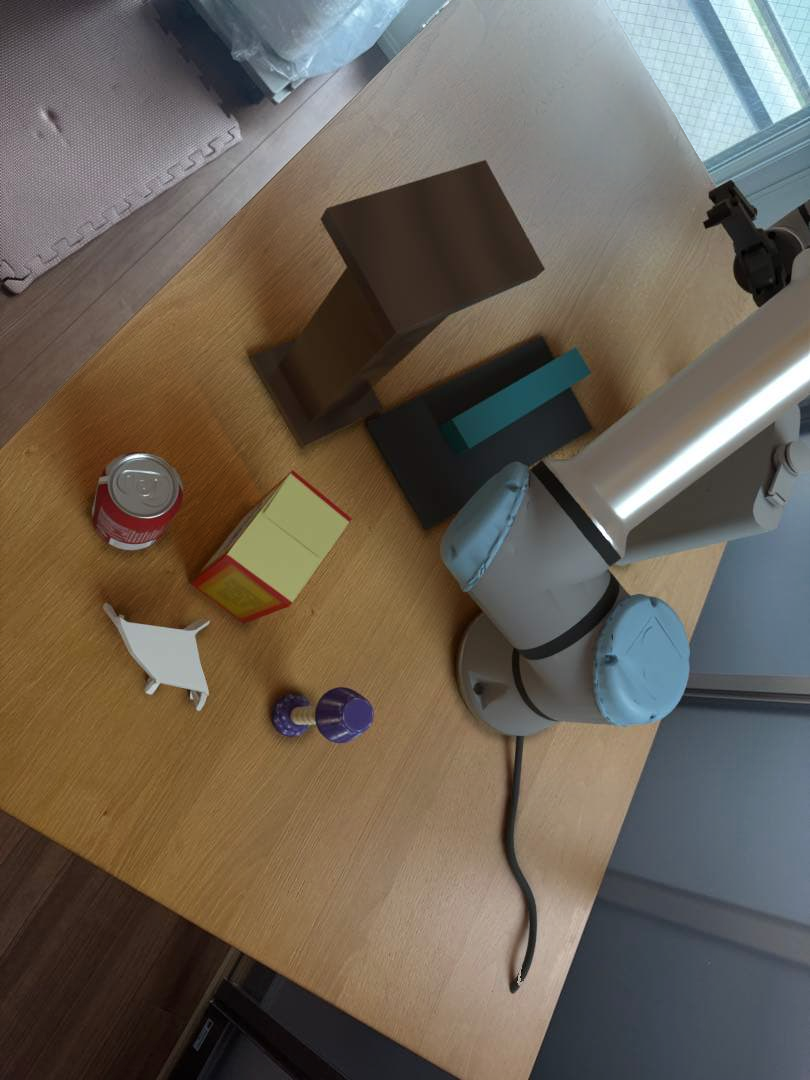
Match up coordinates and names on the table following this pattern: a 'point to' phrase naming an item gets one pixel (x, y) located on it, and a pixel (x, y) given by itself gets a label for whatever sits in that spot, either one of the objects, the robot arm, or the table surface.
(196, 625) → the white flat legged piece
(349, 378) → the stand
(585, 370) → the block
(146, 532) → the soda can
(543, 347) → the mat
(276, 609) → the baking soda box
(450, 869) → the table surface
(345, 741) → the toy lamp
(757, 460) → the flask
